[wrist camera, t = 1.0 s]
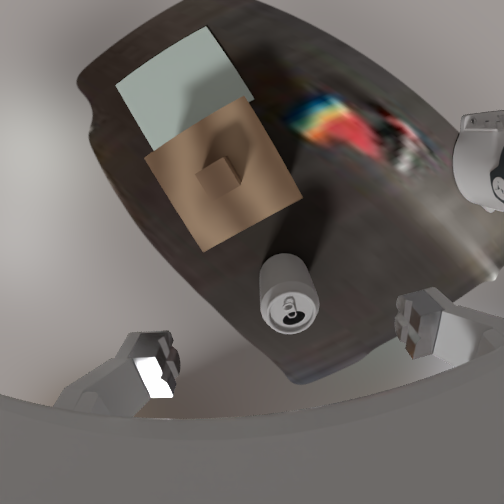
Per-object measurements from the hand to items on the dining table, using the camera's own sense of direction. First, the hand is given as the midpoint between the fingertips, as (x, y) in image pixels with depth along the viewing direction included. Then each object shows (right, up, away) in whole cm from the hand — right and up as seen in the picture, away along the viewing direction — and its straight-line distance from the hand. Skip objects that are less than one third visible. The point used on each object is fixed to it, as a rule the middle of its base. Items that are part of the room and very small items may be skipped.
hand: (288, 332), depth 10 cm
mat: (-11, +26, +27) cm, 39 cm away
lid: (-4, +11, +22) cm, 26 cm away
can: (+4, -1, +37) cm, 37 cm away
